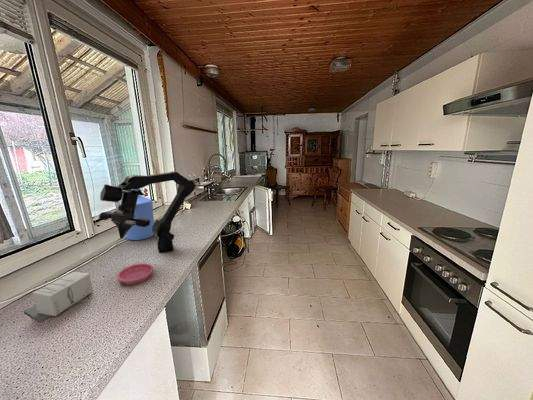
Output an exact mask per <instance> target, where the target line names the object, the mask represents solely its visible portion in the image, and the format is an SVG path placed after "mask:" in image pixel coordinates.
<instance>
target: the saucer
mask: <svg viewBox="0 0 533 400" xmlns="http://www.w3.org/2000/svg"><path fill="white" fill-rule="evenodd" d="M153 272H154V266H153V265H151V264H149V263H136V264H131V265H130V266H126V267H124V268H123V269H122V270H120V271H119V272H118V273H117V275H116V278H117V281H118V282H120V283H122V284H124V285H128V286H131V285H132V286H133V285H137V284H141V283H143V282H145V281H147V279H149V277H150V276H151V275H152V274H153Z"/></svg>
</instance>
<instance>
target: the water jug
mask: <svg viewBox="0 0 533 400" xmlns="http://www.w3.org/2000/svg"><path fill="white" fill-rule="evenodd" d="M131 190H138V189H131ZM153 205H154V203H153V200H152V199H151V198H148V197H145V196H143V195H138V199H137V204H136V206H137V209H135V214H134V215H135V218H134V219H139V218H145V219H149V220H150V225H149V226H146V227H140V226H137V225H133V226H132V227H131V228H130V229H129V231H128V232H127V233H126V235H125V236H124V237H125V239H127V240H129V241H140V240H141V241H142V240H146V239H148V238H149V239H150V238H152V237H153V236H155V235H154V234H153V233H152V228H153V227H152V226H153V225H154V223H155V218H154V206H153Z"/></svg>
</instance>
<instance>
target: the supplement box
mask: <svg viewBox="0 0 533 400" xmlns="http://www.w3.org/2000/svg"><path fill="white" fill-rule="evenodd" d="M93 292H94V289H93V285H92V280H91V274H90V273H86V272H80V271H79V272H78V271H73V272H70V273H68V274H66V275H64V276H63V277H60V278H58V279H57V280H54V281H53V282H51V283H49V284H47V285H45V286H43V287H41V288H39V289H37V290H35V291H33V292H32V297H33V300H34V303H35V304H34V306H35V305H36V308H37V312H38V313H40V314H45V315H51V317H56V316H58V315H59V314H61V313H62V312H64V311H65V310H67V309H69V308H70V307H72V306H73V304H74V305H75V303H76V302H77V303H79V302H80V301H79V300H81V299H82V298H84V297H87V296H89V295H90V294H91V293H93ZM78 301H79V302H78ZM81 301H82V300H81ZM77 303H76V304H77Z"/></svg>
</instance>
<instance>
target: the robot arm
mask: <svg viewBox="0 0 533 400" xmlns="http://www.w3.org/2000/svg"><path fill="white" fill-rule="evenodd" d="M123 180H124V181H122V182H121V183H120V184H119V185H109V184H106V183H105V184H103V188H102V189H101V191H100V196H99V198H100V199H99V200H100V201H101V202H110V203H111V202H112V203H118V202H120V205H119V206H118V208H117V209H116V210H114V211H103V212H101V213H100V214H99V216H98V220H103V221H107V220H109V219H110V221H111V222H112V223H113V224H114V225H116V227H117V230H118V233H119V238H120V239H124V237H126V236H125V235H126V233H127V232H128V231H129V229H130V228H131V227H132V226H133V225H137V226H140V227H146V226H149V225H150V220H149V219H145V218H139V219H134V218H135V215H134V214H135V209H137V206H136V204H137V199H138V195H140V196H144V195H145V194H144V193H143V192H142V190H141V189H142V188H145V187H147V186H149V185H153V184H159V183H163V182H164V183H165V182H171V181H173V182H174V183H175V184H177V185H178V187H177V190H176V191H177V192H176V195H175V196H174V198H173V199H172V201H171V203H170V204H169V206H168V208H167V209H166V211H165V213H164V215H163V216H162V218H160V219H155V220H154V225H153V226H152V227H153V228H152V233H153V234H154V235H153V236H155V237H156V238H158V239H157V240H158V241H157V243H156V245H157V251H158V253H159V254H161V253H167V252H174V243H173V240H174V238H175V235H174V233H172V232H171V229H172V222H173V220H174V219H175V216H176V215H177V213H178V212H179V210H180V208H181V207H182V205H183V203H184V202H185V199H186V198H187V197H188V196H190V195H191V194H192V193H193V192H194V191H195V189H196V184H195V181H193V180H191V179H190V180H189V178H186V177H185V176H183V175H182V174H180V173H179V172H177V171H170V172H162V173H157V174H156V173H154V174H149V175H139V174H129V175H126V176H125V178H124V179H123ZM132 189H138V190H132Z"/></svg>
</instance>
